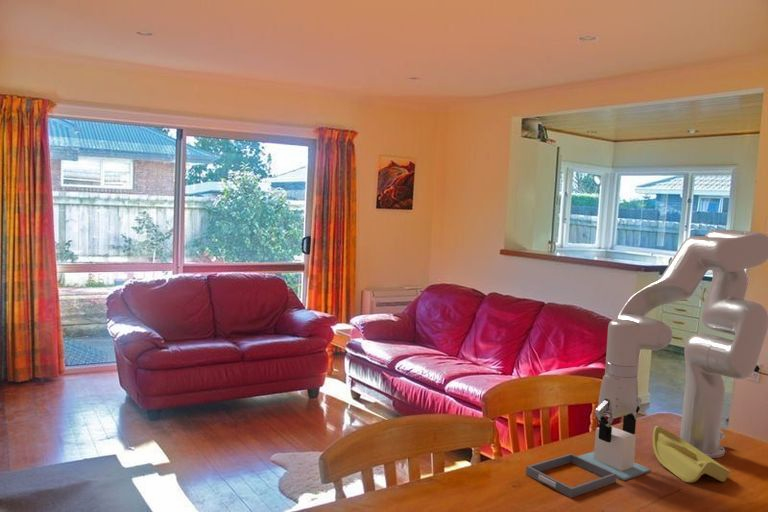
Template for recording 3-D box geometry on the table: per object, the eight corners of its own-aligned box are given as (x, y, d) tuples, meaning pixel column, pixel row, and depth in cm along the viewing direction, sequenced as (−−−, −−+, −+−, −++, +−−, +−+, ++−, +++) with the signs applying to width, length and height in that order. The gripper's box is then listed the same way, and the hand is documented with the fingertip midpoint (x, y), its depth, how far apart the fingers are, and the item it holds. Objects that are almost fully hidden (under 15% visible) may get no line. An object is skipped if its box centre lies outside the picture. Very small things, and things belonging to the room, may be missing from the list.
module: (605, 454, 161) (608, 424, 161) (633, 466, 155) (636, 435, 154) (593, 458, 159) (596, 428, 158) (621, 470, 152) (624, 439, 151)
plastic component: (735, 474, 150) (705, 459, 147) (719, 500, 150) (689, 485, 147) (678, 436, 169) (652, 422, 166) (665, 460, 169) (638, 446, 166)
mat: (602, 450, 166) (602, 448, 166) (650, 471, 154) (650, 469, 154) (575, 458, 159) (575, 456, 159) (623, 480, 148) (623, 478, 148)
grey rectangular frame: (570, 461, 158) (571, 453, 157) (615, 482, 147) (616, 474, 147) (524, 474, 148) (525, 466, 148) (569, 498, 137) (570, 489, 137)
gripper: (629, 361, 162) (624, 425, 164) (586, 370, 153) (582, 438, 155) (655, 368, 156) (650, 434, 158) (613, 378, 147) (608, 449, 148)
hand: (616, 436), depth 156 cm, fingers open, 9 cm apart
